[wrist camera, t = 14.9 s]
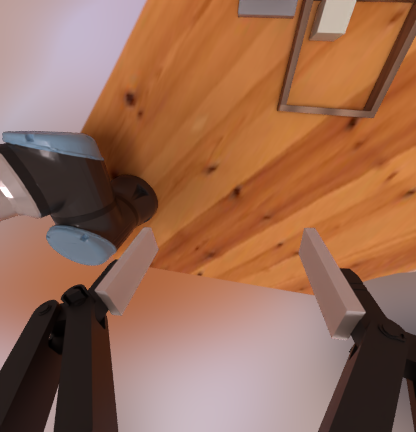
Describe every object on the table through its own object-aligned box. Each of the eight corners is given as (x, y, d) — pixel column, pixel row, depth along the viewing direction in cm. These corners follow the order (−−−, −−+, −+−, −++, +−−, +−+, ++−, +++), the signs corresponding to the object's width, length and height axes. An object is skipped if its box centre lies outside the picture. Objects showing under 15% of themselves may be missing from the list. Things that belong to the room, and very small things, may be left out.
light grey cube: (308, 40, 30) (317, 32, 27) (318, 5, 28) (328, -8, 25) (333, 41, 30) (344, 33, 26) (344, 6, 28) (359, -7, 24)
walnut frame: (276, 110, 36) (279, 110, 34) (305, -10, 27) (311, -19, 25) (365, 117, 34) (373, 118, 32) (426, -8, 26) (442, -18, 24)
